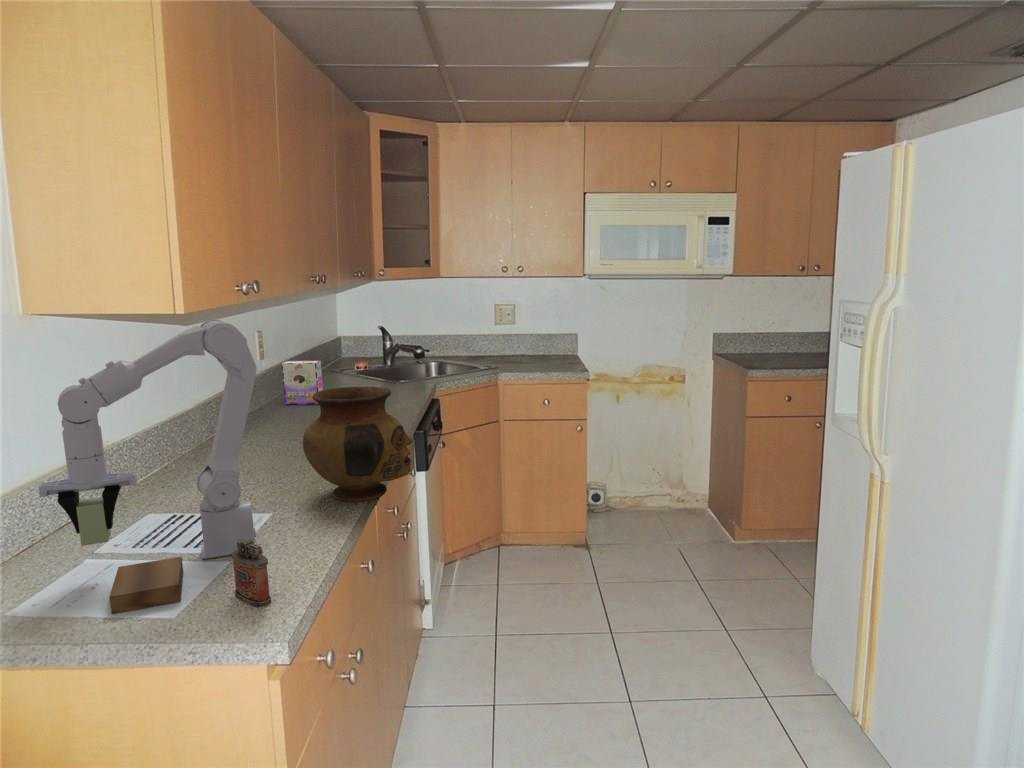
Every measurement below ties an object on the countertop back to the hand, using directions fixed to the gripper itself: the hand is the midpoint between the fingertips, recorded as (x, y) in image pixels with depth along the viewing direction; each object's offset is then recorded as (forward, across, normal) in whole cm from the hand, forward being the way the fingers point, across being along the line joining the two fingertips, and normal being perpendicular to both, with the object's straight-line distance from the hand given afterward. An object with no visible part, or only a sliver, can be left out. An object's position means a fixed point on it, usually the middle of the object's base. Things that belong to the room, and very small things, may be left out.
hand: (95, 529), depth 124 cm
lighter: (+9, +25, -20) cm, 33 cm away
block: (+2, 0, 0) cm, 2 cm away
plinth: (+9, +8, -10) cm, 16 cm away
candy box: (+9, +51, +142) cm, 151 cm away
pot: (+9, +51, +26) cm, 58 cm away
